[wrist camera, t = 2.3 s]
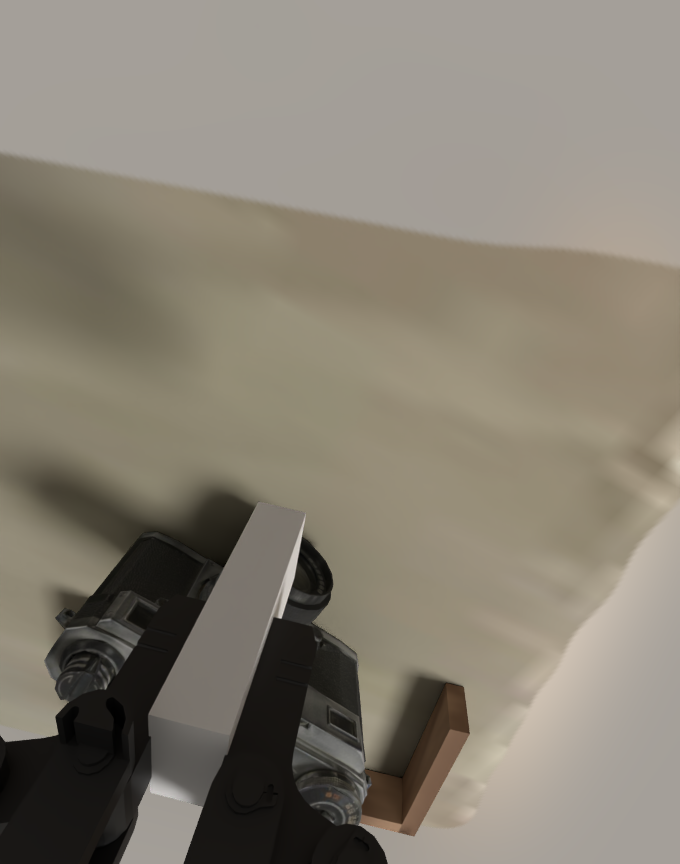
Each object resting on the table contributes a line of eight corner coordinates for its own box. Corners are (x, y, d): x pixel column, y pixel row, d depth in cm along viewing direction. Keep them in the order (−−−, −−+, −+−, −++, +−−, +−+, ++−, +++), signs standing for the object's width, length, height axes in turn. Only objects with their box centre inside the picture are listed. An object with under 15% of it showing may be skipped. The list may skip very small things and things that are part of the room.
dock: (105, 715, 37) (75, 766, 34) (94, 600, 31) (56, 648, 28) (413, 790, 36) (414, 850, 33) (463, 687, 30) (471, 748, 27)
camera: (427, 600, 29) (471, 749, 20) (342, 695, 31) (345, 871, 22) (185, 447, 26) (98, 533, 17) (110, 562, 28) (-7, 699, 19)
